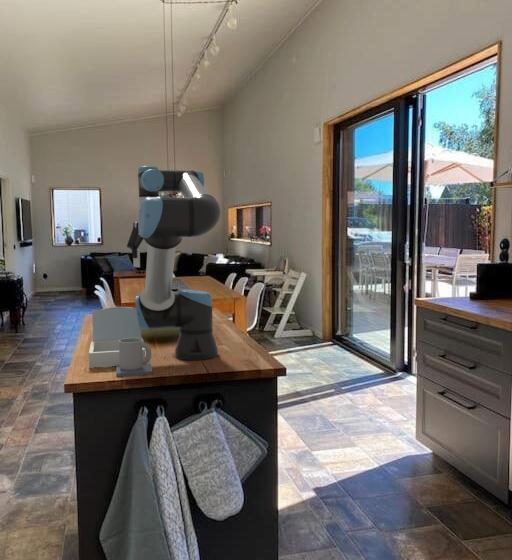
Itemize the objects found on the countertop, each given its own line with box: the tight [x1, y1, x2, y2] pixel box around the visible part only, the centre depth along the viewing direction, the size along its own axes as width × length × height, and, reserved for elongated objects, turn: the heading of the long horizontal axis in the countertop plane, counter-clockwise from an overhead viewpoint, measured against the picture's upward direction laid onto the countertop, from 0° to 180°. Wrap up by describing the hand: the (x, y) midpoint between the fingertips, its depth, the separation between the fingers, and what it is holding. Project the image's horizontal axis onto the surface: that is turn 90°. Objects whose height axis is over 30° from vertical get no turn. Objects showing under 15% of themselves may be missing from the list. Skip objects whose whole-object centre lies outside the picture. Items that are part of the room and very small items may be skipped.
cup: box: [119, 338, 152, 370], centre depth 179 cm, size 7×10×9 cm
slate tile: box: [115, 362, 154, 378], centre depth 180 cm, size 11×11×1 cm
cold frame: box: [88, 307, 146, 369], centre depth 196 cm, size 23×18×16 cm
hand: (150, 265), depth 211 cm, fingers open, 13 cm apart
